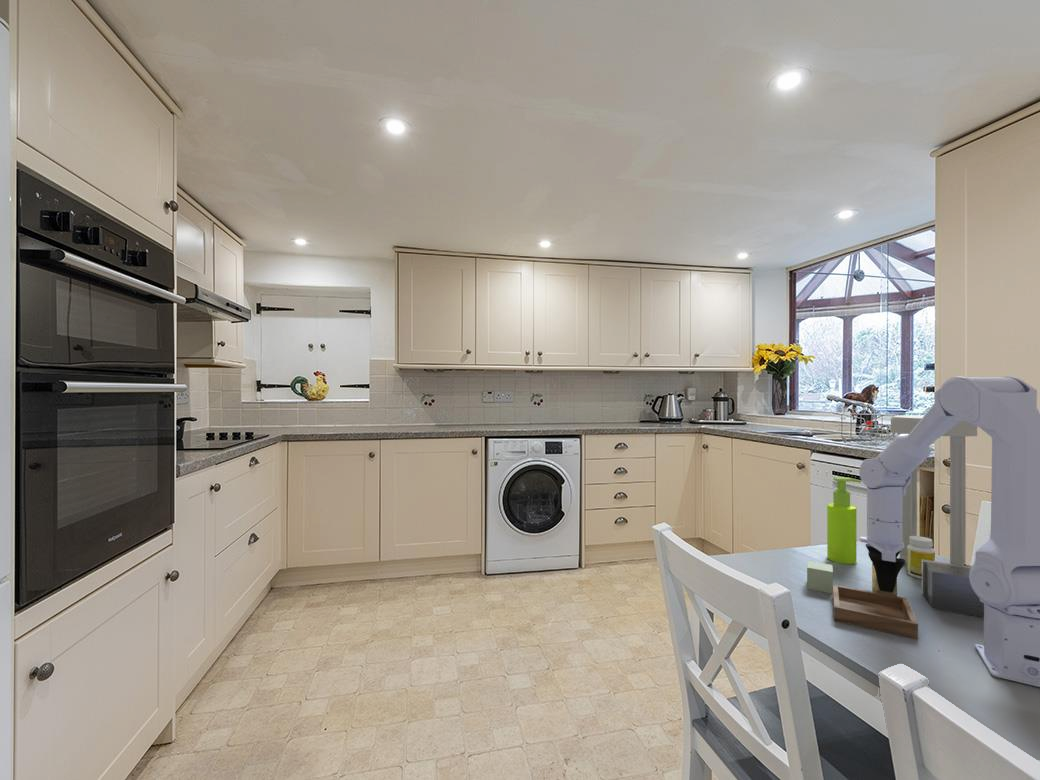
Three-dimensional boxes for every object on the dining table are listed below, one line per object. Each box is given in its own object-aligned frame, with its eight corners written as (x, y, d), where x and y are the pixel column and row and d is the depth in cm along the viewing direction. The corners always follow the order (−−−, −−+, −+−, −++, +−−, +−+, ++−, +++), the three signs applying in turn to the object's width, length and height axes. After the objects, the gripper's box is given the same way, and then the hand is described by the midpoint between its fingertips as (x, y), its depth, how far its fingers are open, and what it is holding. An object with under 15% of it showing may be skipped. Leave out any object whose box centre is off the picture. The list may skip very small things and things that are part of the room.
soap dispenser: (866, 564, 111) (866, 480, 111) (834, 563, 112) (834, 479, 112) (853, 556, 117) (852, 476, 117) (822, 554, 118) (822, 475, 118)
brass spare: (898, 602, 92) (898, 571, 92) (873, 597, 94) (873, 567, 94) (895, 594, 95) (895, 565, 95) (871, 590, 97) (871, 561, 97)
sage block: (832, 593, 96) (832, 571, 96) (807, 588, 98) (807, 567, 98) (832, 586, 100) (832, 564, 100) (807, 581, 102) (807, 560, 102)
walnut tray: (918, 639, 78) (918, 624, 78) (834, 620, 84) (834, 606, 84) (907, 611, 88) (907, 598, 88) (832, 596, 94) (832, 584, 94)
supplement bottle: (940, 581, 102) (940, 542, 102) (915, 579, 103) (915, 541, 103) (926, 572, 107) (926, 535, 107) (902, 571, 108) (902, 534, 108)
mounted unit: (994, 620, 85) (994, 581, 85) (928, 607, 90) (928, 570, 90) (981, 604, 91) (981, 567, 91) (921, 593, 96) (921, 558, 96)
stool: (887, 561, 114) (887, 416, 113) (896, 546, 124) (896, 414, 124) (976, 579, 103) (976, 419, 103) (977, 561, 114) (977, 416, 114)
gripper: (857, 508, 103) (857, 570, 103) (862, 524, 91) (862, 594, 91) (898, 513, 99) (898, 577, 99) (909, 530, 87) (909, 603, 87)
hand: (884, 586), depth 95 cm, fingers open, 5 cm apart
